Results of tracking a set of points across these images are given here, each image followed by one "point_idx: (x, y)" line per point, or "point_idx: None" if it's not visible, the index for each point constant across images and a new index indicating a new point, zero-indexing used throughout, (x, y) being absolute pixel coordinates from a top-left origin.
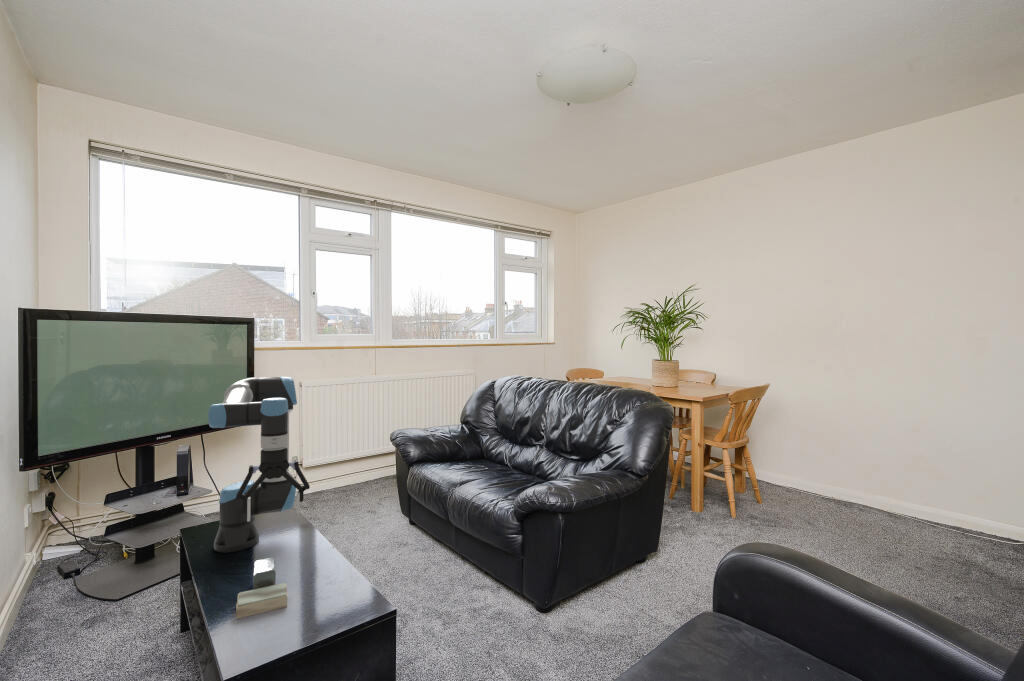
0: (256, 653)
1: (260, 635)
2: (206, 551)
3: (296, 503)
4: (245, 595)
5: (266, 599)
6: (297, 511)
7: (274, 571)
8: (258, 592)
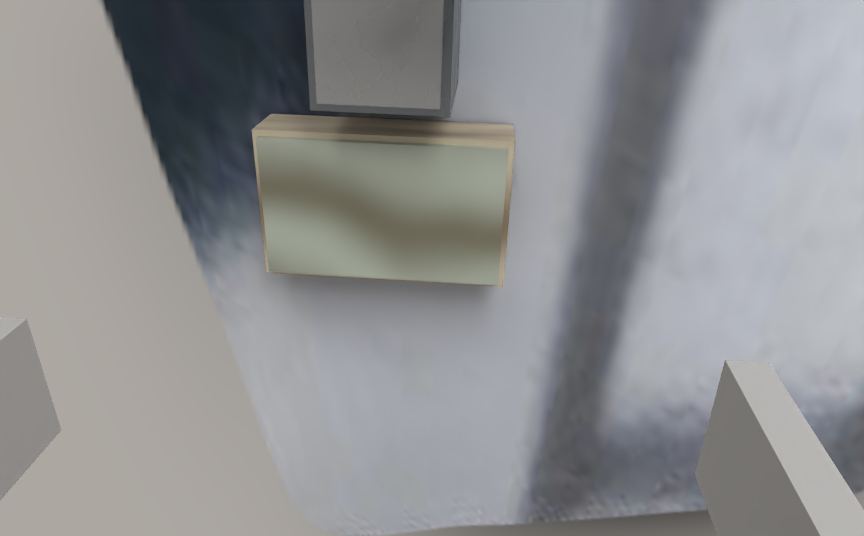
0: (379, 484)
1: (389, 401)
2: None
3: (776, 464)
4: (294, 189)
5: (402, 277)
6: (714, 502)
7: (443, 115)
8: (360, 192)
